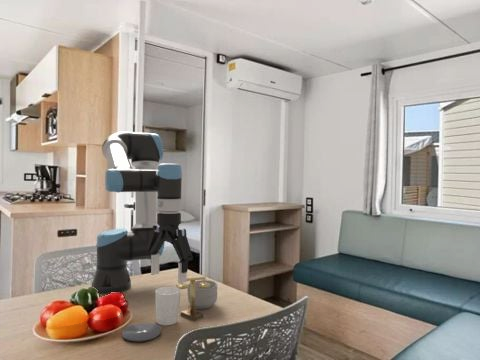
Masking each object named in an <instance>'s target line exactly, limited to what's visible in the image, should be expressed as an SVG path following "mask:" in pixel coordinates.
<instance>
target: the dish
mask: <svg viewBox="0 0 480 360" xmlns="http://www.w3.org/2000/svg"><path fill="white" fill-rule="evenodd" d="M161 332H162V327H161V325H160V324H158V323H153V322H138V323H133V324H131V325H129V326H126V327H125V328H124V329H122V333H121V334H122V337H123V338H124V339H125V340H127V341H131V342H135V343H136V342H137V343H139V342H142V343H143V342H147V341H150V340H153V339H155V338H157V337H158V336H159V335H161Z"/></svg>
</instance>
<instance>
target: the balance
mask: <svg viewBox="0 0 480 360" xmlns="http://www.w3.org/2000/svg"><path fill="white" fill-rule="evenodd" d="M205 279H206V280H207V278H206V276H204V275H203V276H194V277H187V278H186V282H188V281H189V283H190V303H189V308H187V309H185V310H181V311H180V316H181V317H184V318H186V319H189V320H191V321H194V322H196V321H199V320H202V319H203V318H205V317H204V316H205V314H204V313H203V312H200V311H197V310H195V309H196V308H195V281H200V280H204V281H205ZM175 287H177V288H179V289H180V290H186V289H187V288H188V284H187V283H181V284H178V283H177V284H176V285H175ZM198 287H200V288H208V287H210V283H205V282H203V283H199V284H198Z"/></svg>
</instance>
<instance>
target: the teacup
mask: <svg viewBox="0 0 480 360" xmlns="http://www.w3.org/2000/svg"><path fill="white" fill-rule="evenodd" d="M203 282H205V283H210V287H208V288H200V287H198V284H199V283H203ZM187 285H188V288H186V289H187V299H188V303H189V304H190V282H189V283H188V284H187ZM217 299H218V282H216V281H215V280H210V279H209V280H208V279H207V278H206V279H205V281H204V280H195V309H197V310H207V309H210V308H211V307H213V305H215V303H216V302H217Z"/></svg>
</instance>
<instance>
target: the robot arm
mask: <svg viewBox="0 0 480 360" xmlns="http://www.w3.org/2000/svg"><path fill="white" fill-rule="evenodd" d="M101 151H102V155H103V157H104V158H105V159H106V162H107V165H108V166H107V167H108V169H107V170H105V179H104V181H105V183H104V186H105V190H106V191H107V192H109V193H110V192H112V193H134V194H135V195H134V196H135V224H134V225H133V226H132V227H131V231H129V232H128V229H126V228H114V229H108V230H105V231H103V232H100V233H98V235H97V236H96V237H97V238H96V266H95V267H96V269H95V273H94V276H93V278H92V282H91V288H92V287H94V288H96V289H97V290H98V292H99V293H98V294H104V295H105V294H112V293H111V292H117V293H121V292H124V291H127V290H129V289H130V288H131V287H132V279H131V277H130V273H129V270H128V264H127V262H131V261H142V260H143V261H144V260H150V265H151V266H150V270H151V271H150V275H151V276H154V275H158V274H160V257H161V256H162V255H163V253H164V249H165V243H166V242H167V243H170V245H172V246H173V249H174V250H175V253H176V255H177V257H178V259H179V262H178V263H177V264H178V268H177V274H178V275H177V285H178V284H182V283H183V284H186V283H187V281H186V278H188V277H187V273H188V270H189V268H188V267H189V266H188V263H189V262H190V261H193V260H194V257H193V254H192V250H191V247H190V243H189V241H188V237H187V229H185V228H182V229H180V228H179V226H180V224H181V223H182V214H181V211H182V184H183V183H182V177H183V173H182V170H183V169H182V165H181V164H179V163H160V161H162V160H163V158H164V146H163V141H162V138H161V137H160V135H159V134H157V133H152V132H151V133H150V132H138V131H137V132H135V131H118V132H115V133H113V134H111V135H109V136H107V138H105V140H104V141H103V143H102V146H101ZM130 160H131V162H130ZM132 166H133V167H134V168H133V167H132ZM156 168H157V169H156ZM157 211H158V213H157Z"/></svg>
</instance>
